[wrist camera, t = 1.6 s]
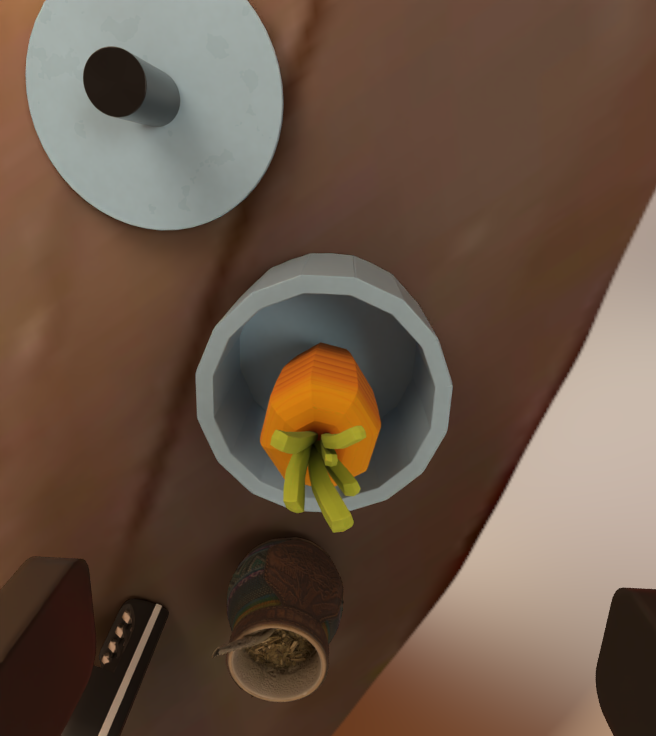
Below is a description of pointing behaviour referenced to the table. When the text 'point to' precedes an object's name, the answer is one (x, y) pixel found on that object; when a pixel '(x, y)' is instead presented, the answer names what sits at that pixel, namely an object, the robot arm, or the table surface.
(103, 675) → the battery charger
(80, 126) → the lid
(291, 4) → the table surface
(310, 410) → the carrot
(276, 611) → the mate gourd
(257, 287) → the pot
